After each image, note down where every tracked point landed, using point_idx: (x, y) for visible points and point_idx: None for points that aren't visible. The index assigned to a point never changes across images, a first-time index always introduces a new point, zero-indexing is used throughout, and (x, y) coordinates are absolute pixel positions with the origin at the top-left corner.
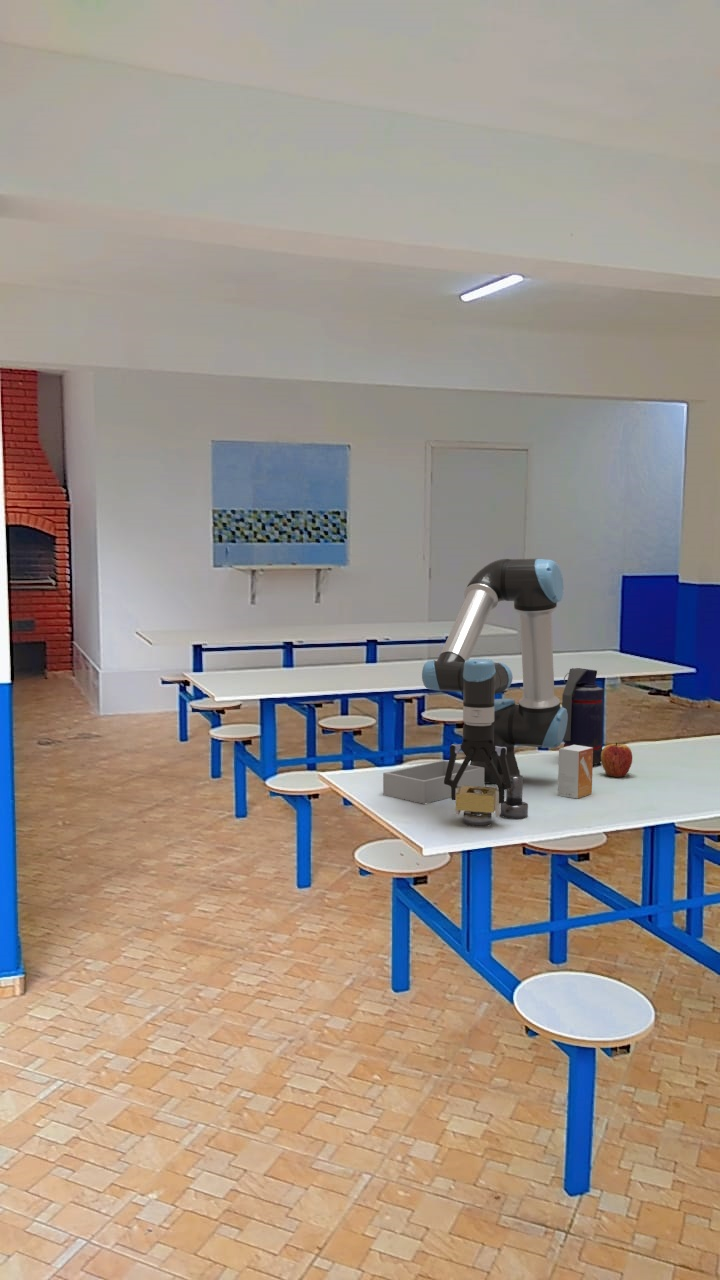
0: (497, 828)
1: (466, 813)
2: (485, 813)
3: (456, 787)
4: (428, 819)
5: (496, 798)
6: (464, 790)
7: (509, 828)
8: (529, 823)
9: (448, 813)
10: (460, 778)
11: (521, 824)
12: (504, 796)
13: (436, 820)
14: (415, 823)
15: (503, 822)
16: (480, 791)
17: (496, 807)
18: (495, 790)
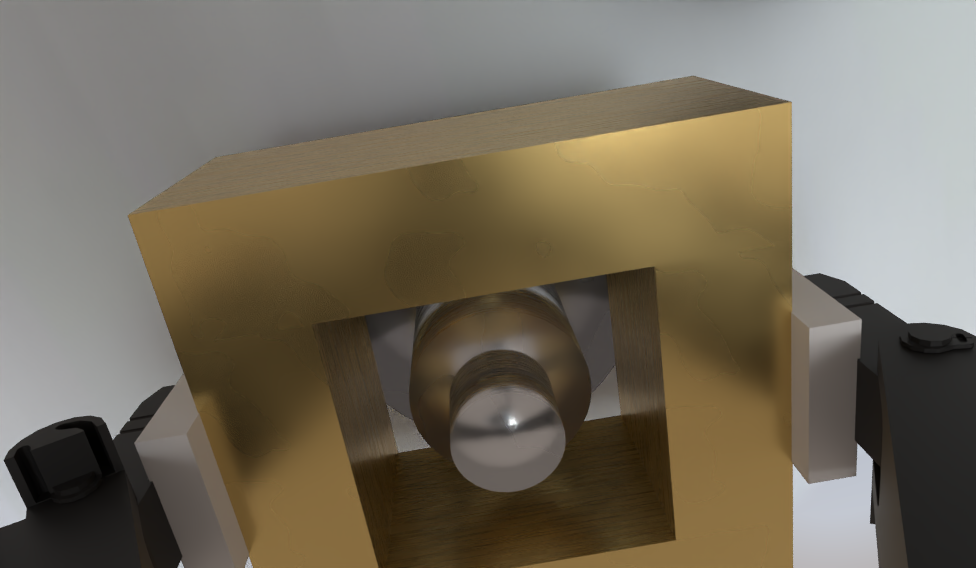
0: None
1: (393, 379)
2: (574, 299)
3: (175, 537)
4: (22, 348)
5: None
6: (316, 502)
7: None
8: (955, 67)
9: (58, 39)
10: (139, 546)
11: (881, 138)
12: (872, 303)
13: (106, 347)
14: (5, 504)
15: None
16: (558, 457)
17: None
18: (764, 309)
